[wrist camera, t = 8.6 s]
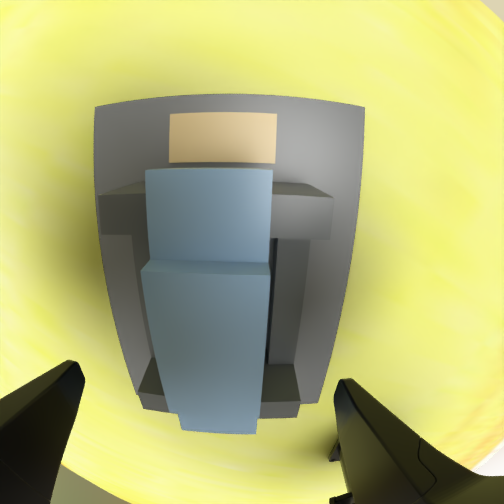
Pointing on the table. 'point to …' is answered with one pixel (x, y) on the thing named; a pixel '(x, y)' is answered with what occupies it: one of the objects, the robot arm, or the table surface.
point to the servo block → (209, 292)
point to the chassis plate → (281, 227)
